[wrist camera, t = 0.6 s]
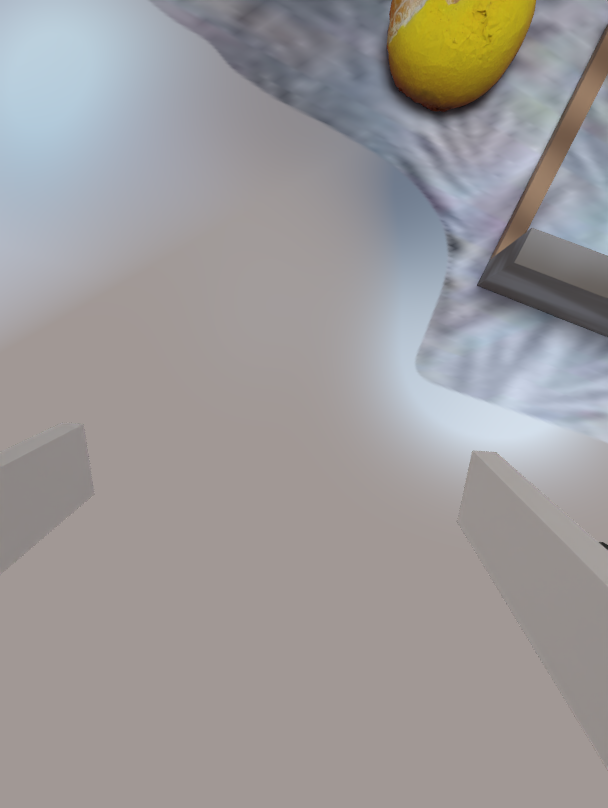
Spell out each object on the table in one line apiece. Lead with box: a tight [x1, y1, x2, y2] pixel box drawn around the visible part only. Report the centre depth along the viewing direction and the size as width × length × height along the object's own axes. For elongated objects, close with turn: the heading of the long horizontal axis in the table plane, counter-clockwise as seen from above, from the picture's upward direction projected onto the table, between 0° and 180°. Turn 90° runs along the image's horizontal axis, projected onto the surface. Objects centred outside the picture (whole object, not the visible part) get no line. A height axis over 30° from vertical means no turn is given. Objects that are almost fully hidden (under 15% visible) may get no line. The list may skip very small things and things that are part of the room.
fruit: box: [387, 0, 536, 112], centre depth 27 cm, size 11×10×8 cm
